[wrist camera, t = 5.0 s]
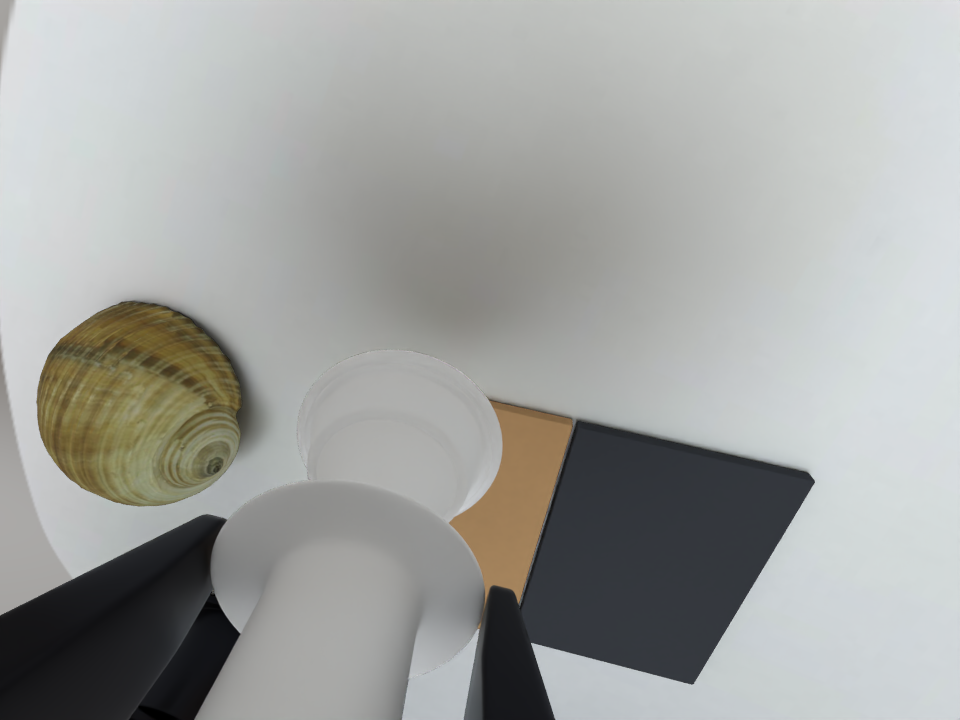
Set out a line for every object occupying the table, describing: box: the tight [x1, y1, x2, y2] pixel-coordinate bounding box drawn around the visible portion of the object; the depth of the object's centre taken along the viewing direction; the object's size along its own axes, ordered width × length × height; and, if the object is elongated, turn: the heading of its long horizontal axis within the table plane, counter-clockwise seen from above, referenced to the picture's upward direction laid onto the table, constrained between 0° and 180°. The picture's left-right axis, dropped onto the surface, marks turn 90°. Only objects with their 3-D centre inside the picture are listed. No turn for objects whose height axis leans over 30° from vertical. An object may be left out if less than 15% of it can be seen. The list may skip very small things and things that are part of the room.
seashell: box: [37, 301, 242, 506], centre depth 21 cm, size 10×7×8 cm
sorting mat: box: [449, 400, 815, 684], centre depth 23 cm, size 20×14×1 cm
